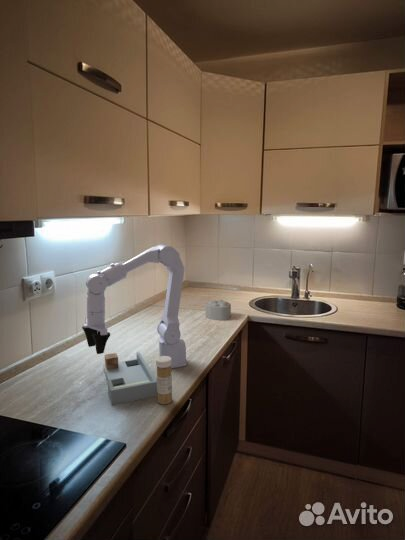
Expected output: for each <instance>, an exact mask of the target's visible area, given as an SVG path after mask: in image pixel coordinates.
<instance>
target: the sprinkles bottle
mask: <svg viewBox="0 0 405 540" xmlns="http://www.w3.org/2000/svg"><path fill="white" fill-rule="evenodd" d="M155 366H156V380H157V391H158V395H157V403H159V404H160V405H168V404H171V403H172V401H173V375H172V368H171V366H172V359H171V357H169V356H160V357H159V356H158V357H156V359H155Z"/></svg>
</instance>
